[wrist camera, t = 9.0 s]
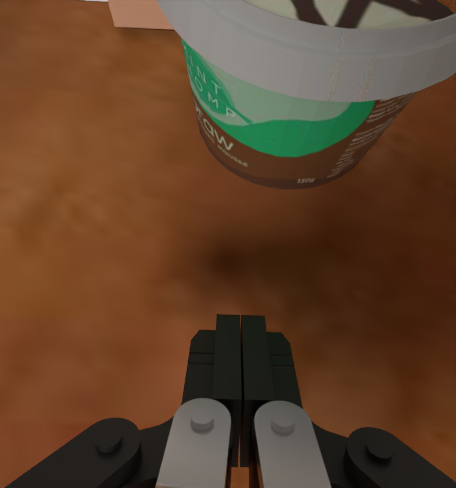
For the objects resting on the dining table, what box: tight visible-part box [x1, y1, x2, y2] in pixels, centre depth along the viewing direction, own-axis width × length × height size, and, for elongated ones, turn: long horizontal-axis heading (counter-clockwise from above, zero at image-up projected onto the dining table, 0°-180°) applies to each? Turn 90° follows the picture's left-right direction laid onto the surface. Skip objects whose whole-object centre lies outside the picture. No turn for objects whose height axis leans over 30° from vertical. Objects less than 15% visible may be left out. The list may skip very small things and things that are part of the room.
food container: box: [157, 0, 456, 189], centre depth 16 cm, size 12×6×10 cm, turn 41°
